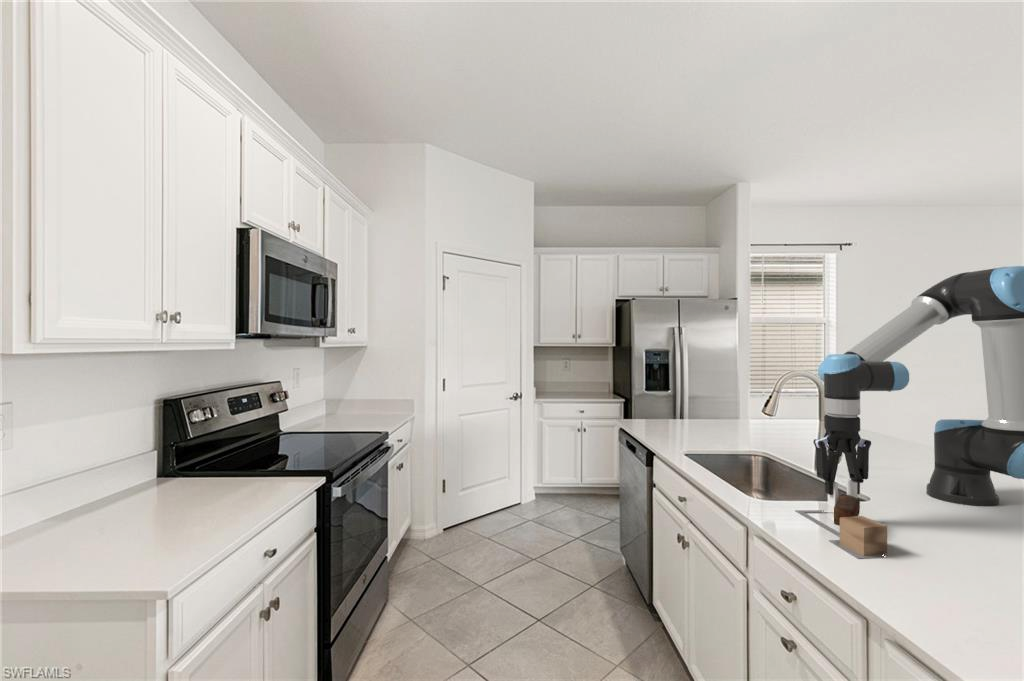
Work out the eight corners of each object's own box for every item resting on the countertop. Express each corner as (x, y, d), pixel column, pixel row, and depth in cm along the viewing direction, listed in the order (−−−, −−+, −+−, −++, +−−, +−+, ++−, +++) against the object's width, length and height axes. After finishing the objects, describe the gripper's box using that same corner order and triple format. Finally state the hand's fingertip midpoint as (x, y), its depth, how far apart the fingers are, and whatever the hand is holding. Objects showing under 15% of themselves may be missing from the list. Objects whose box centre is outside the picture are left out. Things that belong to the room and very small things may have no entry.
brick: (853, 529, 110) (853, 510, 110) (833, 525, 113) (833, 506, 113) (860, 513, 118) (860, 495, 118) (841, 509, 121) (841, 491, 120)
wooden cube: (861, 541, 108) (861, 515, 108) (887, 553, 103) (887, 525, 103) (839, 543, 107) (839, 517, 107) (863, 555, 101) (864, 527, 101)
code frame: (842, 511, 129) (842, 510, 129) (893, 537, 112) (893, 536, 112) (795, 511, 128) (795, 510, 128) (839, 537, 111) (839, 536, 111)
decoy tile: (867, 540, 109) (867, 539, 109) (899, 558, 100) (899, 557, 100) (828, 540, 109) (828, 540, 109) (857, 558, 100) (857, 557, 100)
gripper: (864, 412, 124) (864, 501, 124) (798, 413, 124) (799, 502, 124) (887, 417, 116) (888, 511, 116) (818, 417, 116) (818, 512, 116)
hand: (842, 506), depth 120 cm, fingers closed on brick, 4 cm apart
